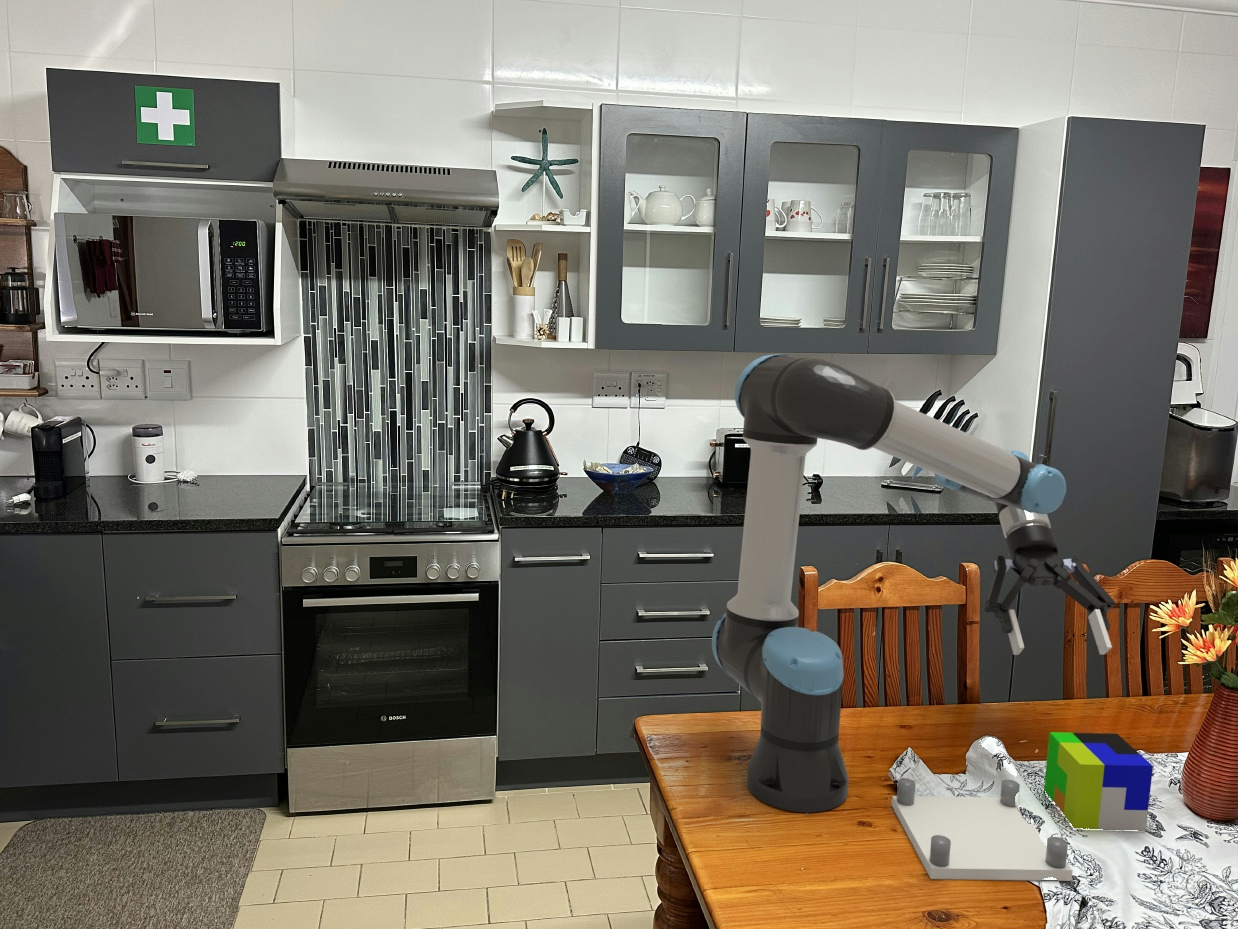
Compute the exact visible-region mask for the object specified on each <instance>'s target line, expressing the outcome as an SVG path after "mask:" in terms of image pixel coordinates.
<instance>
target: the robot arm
mask: <svg viewBox="0 0 1238 929" xmlns="http://www.w3.org/2000/svg"><path fill="white" fill-rule="evenodd" d="M734 400H735V405H736V408H737V411H739V414H740V415H741V416H742V417H743V429H742V439H743V441H744V442H745V443H746V444H747V446H748V447H749V449H750V457H749V458H750V459H749V468H748V469H749V470H748V479H747V491H746V500H745V510H744V522H743V529H742V530H743V532H742V533H743V534H742V544H741V552H740V561H739V562H740V563H739V574H738V586H737V593H736V595H735V596H733V597H732V598H731V599H729V600H728V601H727V603H726V610H725V613H724V614H723V615H722V617H721V619H720V620H718V621H717V622H716V624H715V626H714V629H713V632H712V638H711V649H712V653H713V657H714V659H715V661H716V662H717V664H718V666H719V668H721V669H722V671H723V673H724V674H726V675H727V676H728V677H729V678H730V680H732V681H734V682H735V683H736V684H738V685H740V686H741V687H742V688H743V689H744V690H746V692H748V693H750V694H751V696H753V697H754V698H755V699H757V700H758V701H759V702H760V704H761V706H760V707H761V708H760V710H761V711H760V713H761V714H760V731H759V732H760V734H759V738H758V740H757V743H756V745H755V748H754V750H753V753H752V755H751V758H750V761H749V763H748V765H747V772H746V774H747V776H746V785H747V788H748V790H749V791H750V793H751V795H753V796H755V798H757V800H760V801H761V802H763V803H765V804H767V805H769V806H772V807H774V808H777V809H781V810H786V811H789V812H790V811H791V812H797V813H818V812H825V811H828V810H832V809H835V808H837V807H838V806H840V805H842V804H843V803H844V802H845V801H846V799H847V798H848V796H849V775H848V771H847V768H846V767H847V766H846V763H845V761H844V757H843V754H842V751H841V750H842V749H841V748H840V743H839V742H840V741H839V740H840V739H839V738H840V726H841V722H840V721H841V707H842V705H841V704H842V692H843V691H842V688H843V680H844V662H843V661H844V660H843V653H842V650H841V648H840V647H839V645H838V644H837V643H836V641H835V640H833V639H832V638H830V637H829V636H828V635H826V634H825V633H822V632H819V631H818V630H817V631H816V630H815V631H811V629H810V628H805V627H799V625H798V624H799V615H800V614H799V613H800V612H799V609H798V608H797V607H796V606H795V605H794V603H793V602H792V601H791V599H792V589H793V580H794V579H793V578H794V571H795V563H796V562H795V561H796V554H797V553H796V551H797V543H798V542H797V541H798V532H799V522H800V514H801V503H802V493H803V485H804V483H803V482H804V472H805V466H806V465H805V464H806V456H807V454H808V453H809V452H810V451H811V450H813V449H814V448H816V446H817V445H818V439H821V440H827V441H832V442H836V443H840V444H843V445H848V446H850V447H852V448H855V449H857V450H860V451H868V450H870V449H875V450H878V451H881V452H882V453H885V454H887V455H890V456H892V457H895V458H896V459H899V460H902V461H904V462H906V463H908V464H910V465H914V466H916V467H918V468H921V469H923V470H925V471H928V472H930V473H932V474H934V478H935V481H936V482H937V483H938V485H940V486H942V487H945V488H948V489H949V490H951V491H954V492H955V491H956V492H958V493H963V494H966V495H969V496H972V497H976V498H979V499H982V500H984V501H988V502H992V503H994V505H995V508H996V511H997V515H998V518H999V522H1000V526H1001V529H1002V533H1003V537H1004V538H1005V544H1006V547H1007V551H1008V555H1009V558H1010V559H1009V558H1008V559H1006V558H1005V556H1003V555H998V556H997V558H996V559H995V560H994V562H993V564H992V567H993V568H992V569H993V577H992V580H991V584H990V587H989V589H988V594H987V597H986V600H985V604H984V606H983V610H984V611H985V612H986V613H994V616H995V618H997V619H998V620H999V625H1000V628H1001V631H1002V632H1003V633H1004V634H1008V638H1009V643H1010V646H1011V649H1012V650H1011V651H1012V654H1013V655H1014V656H1015V655H1016V656H1019V655H1020V654H1021V653H1022V651H1023V650H1024V649H1025V644H1024V641H1023V637H1022V633H1021V629H1020V626H1019V625H1020V624H1019V622H1018V619H1017V614H1016V611H1015V609H1009V608H1010V606H1011V605H1012V604H1013V602H1014V600H1015V599H1016V597H1017V596H1018V594H1019V593H1020V591H1021V590H1022V588H1023V587H1024V585H1025V584H1026V583H1027V584H1028V585H1030V586H1031V587H1036V586H1045V587H1046V586H1047V587H1049V586H1051V585H1052V586H1053V587H1055V588H1056V589H1057V590H1061V591H1062V592H1064V593H1065V594H1066V595H1067V596H1069V597H1070V598H1071V599H1073V600H1074V601H1075V602H1076V603H1078V604H1079V605H1080V606H1082V607H1083V608H1084V609H1085V610H1086V611H1087V612H1089V613H1090V614H1088V616H1087V618H1088V622H1089V624H1090V627H1091V631H1092V634H1093V637H1094V640H1095V643H1096V647H1097V650H1098V653H1099V655H1106V654H1107V653H1108V652H1109V651H1110V650H1111V649H1112V648H1113V646H1112V643H1111V640H1110V636H1109V633H1108V632H1109V630H1110V629H1111V625H1110V622H1109V618H1108V615H1107V613H1108V612H1109V611H1110V610H1111V609H1112V608H1113V607H1114V606H1115V605H1116V601H1115V599H1113V597H1112V596H1111V595H1110V594H1109V593H1108V592H1107V591H1106V590H1105V588H1103V587H1102V585H1101V584H1100V583H1099V582H1098V581H1097V580H1096V579H1095V577H1094V576H1093V575H1092V574H1091V573H1090V572H1089V571H1088V570H1087V568H1086V567H1085V565H1084V564H1083V562H1082V559H1081V557H1080V556H1078V555H1073V556H1072V557H1071V558H1064V559H1063V558H1062V557H1061V556H1060V554H1059V551H1058V544H1057V540H1056V538H1055V535H1054V532H1053V530H1052V529H1051V528H1052V526H1051V522H1050V519H1049V516H1048V515H1049V514H1050V513H1053V512H1054V511H1056V510H1057V509H1059V507H1060V506H1061V505H1062V504H1063V500H1064V498H1065V496H1066V493H1067V483H1066V479H1065V477H1064V475H1063V474H1062V472H1061V471H1059V470H1058V469H1056V468H1054V467H1052V466H1047V465H1046V464H1042V463H1040V464H1038V463H1034V462H1032V461H1031V460H1030V458H1029V457H1028V456H1027V455H1026V453H1024V452H1023V451H1020V450H1018V449H1017V450H1015V449H1014V450H1012V451H1011V450H1007V449H1006V450H1005V449H1003V448H1001V447H998V446H996V445H994V444H992V443H989V442H987V441H985V440H983V439H981V438H978V437H976V436H975V435H971V434H970V433H967V432H965V431H963V430H961V429H959V428H956V427H954V426H952V425H950V424H947V423H945V422H944V421H940V420H939V419H936V418H934V417H932V416H930V415H927V414H925V413H923V412H921V411H919V410H916V409H914V408H913V407H909V406H907V405H905V404H903V403H901V402H899V401H896V399H895V396H894V394H893V393H892V392H891V391H890V389H887V388H884V387H883V386H880V385H878V384H877V383H874V382H872V381H870V380H869V379H866V378H865V377H863V376H861V375H859V374H858V373H855V372H853V371H851V370H849V369H848V368H845V367H843V366H842V365H839V364H838V363H835V362H833V361H830V360H826V359H823V358H816V357H806V356H799V355H791V354H786V353H780V354H779V353H777V354H768V355H764V356H761V357H759V358H756V359H754V360H753V361H752V362H750V363H749V364H748V365H747V366H745V368H744V369H743V370H742V372H741V373H740V375H739V376H738V379H737V380H736V384H735V390H734ZM1010 568H1011V570H1012V572H1014V574H1016V575H1017V576H1018V578H1017V579H1016V580H1015V582H1014V584H1013V585H1012V587H1011V588H1010V590H1009V591H1008V593H1007V594H1006V596H1005V597H1004V598H1003V600H1002V602H998V599H999V597H1000V596H999V595H1000V592H1001V590H1002V587H1003V586H1002V585H1003V583H1004V579H1005V576H1006V573H1007V572H1008V571H1009V570H1010ZM1064 569H1066V570H1064ZM1071 576H1072V577H1071ZM1059 578H1060V580H1059Z"/></svg>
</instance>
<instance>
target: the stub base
mask: <svg viewBox="0 0 1238 929" xmlns="http://www.w3.org/2000/svg"><path fill="white" fill-rule="evenodd" d="M897 780H898V781H897V792H896V793H897V794H896V795H892V797H891V807H892V809H893V810H894V813H895V815H896V817H897V819H898V820H899V822H900V824H901V827H903V830H904V832H905V833H906V835H907V837H908V838H909V839H908V840H910V843H911V845H912V847H913V848H914V850H915V852H916V854H917V856H918V858H919V860H920V861H921V864H922V865H923V867H924V869H925V871H926V872H927V875H928V876H929V878H930V879H931V880H969V881H971V880H973V881H974V880H975V881H976V880H978V881H982V880H986V881H990V880H991V881H1039V882H1040V881H1041V880H1042V879H1044V878H1048V877H1049V878H1050V877H1053V878H1056V879H1057V880H1058V882H1059V881H1060V882H1063V881H1064V882H1072V879H1073V869H1072V867H1070V865H1069V864H1068V863H1067V856H1068V846H1069V843H1068V842H1067V840H1065V839H1064V838H1061V837H1058V836H1049V837H1047V847H1046V845H1044V843H1043V842H1042V841H1041V840H1040V837H1039V832H1038V829H1036V828H1035V827H1032V826H1031V825H1030V824H1028V823H1027V822H1026V821H1025V820H1024V819H1023V818H1022V816H1021V815H1020V813H1019V812H1018V810H1017V808H1016V806H1015V796H1016V794H1017V793H1018V792H1019V793H1020V786H1021V785H1020V783H1019V782H1018V781H1015V780H1012V779H1003V780H1002V781H1001V789H1000V797H993V796H989V797H985V796H983V797H981V796H980V797H978V796H976V797H975V796H974V797H973V796H922V795H921V796H918V795H917V796H916V795H915V794H916V782H915V781H914V780H913V779H910V778H907V777H905V778H904V777H902V778H899V779H897Z"/></svg>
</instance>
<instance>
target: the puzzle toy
mask: <svg viewBox="0 0 1238 929" xmlns="http://www.w3.org/2000/svg"><path fill="white" fill-rule="evenodd" d="M1048 732H1049V731H1048ZM1048 735H1049V736H1048V742H1047V743H1048V744H1047V756H1046V766H1045V776H1044V786H1043V787H1044V789H1043V791H1044V790H1045V791H1046V793H1047V794H1048V795H1049V796H1050V798H1051V799H1052V800H1053V801H1054V802H1055V803H1056V805H1057V806H1058V807H1059V808H1060V810H1061V811H1062V812H1063V814H1064V815H1065V817H1066V818H1067V819H1068V820H1069V822H1070V823H1071V824H1072V826H1073V827H1074V828H1083V829H1086V828H1087V829H1088V828H1089V829H1103V830H1138V831H1145V832H1144V833H1146V830H1147V824H1148V822H1147V821H1148V815H1149V814H1148V813H1149V805H1150V796H1151V788H1152V780H1153V779H1152V778H1153V771H1154V765H1153V764H1152V763H1151V762H1150V761H1149V760H1148V759H1146V758H1145V757H1144V756H1142V754H1141V753H1139V752H1138V751H1137V750H1136V749H1135V748H1134V747H1133V746H1132V745H1130V743H1128V741H1126V740H1125V739H1124V737H1121V735H1119V734H1118V733H1110V732H1109V733H1107V732H1105V733H1103V732H1102V733H1099V732H1096V733H1095V732H1063V731H1062V732H1059V731H1057V732H1056V731H1054V732H1053V731H1051V732H1049V734H1048Z"/></svg>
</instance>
